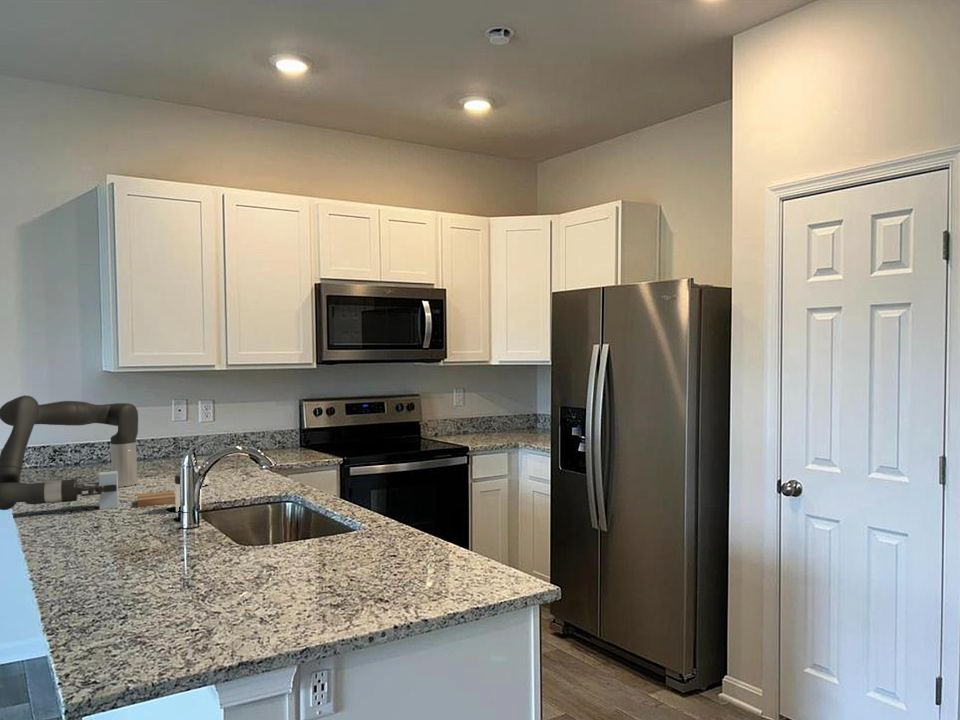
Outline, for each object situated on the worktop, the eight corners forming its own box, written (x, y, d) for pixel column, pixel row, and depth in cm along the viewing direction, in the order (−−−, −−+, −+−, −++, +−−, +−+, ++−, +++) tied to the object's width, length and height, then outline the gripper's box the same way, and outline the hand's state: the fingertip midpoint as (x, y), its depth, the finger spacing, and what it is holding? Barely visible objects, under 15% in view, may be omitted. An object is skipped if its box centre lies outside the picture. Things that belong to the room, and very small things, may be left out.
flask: (214, 484, 288) (213, 459, 288) (205, 487, 281) (204, 462, 281) (196, 484, 289) (196, 459, 289) (187, 487, 282) (187, 462, 282)
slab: (138, 502, 258) (138, 494, 258) (174, 498, 263) (174, 490, 263) (137, 509, 247) (137, 500, 247) (175, 505, 252) (175, 496, 252)
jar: (201, 511, 239) (200, 475, 238) (175, 513, 236) (173, 477, 236) (202, 505, 247) (201, 471, 247) (176, 508, 244) (175, 473, 244)
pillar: (101, 506, 250) (99, 472, 250) (118, 504, 252) (117, 470, 252) (99, 509, 245) (98, 474, 245) (117, 507, 247) (116, 473, 247)
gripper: (58, 483, 236) (115, 478, 243) (63, 477, 249) (117, 472, 256) (58, 506, 236) (116, 500, 243) (64, 498, 249) (118, 493, 256)
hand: (116, 486), depth 250 cm, fingers closed on pillar, 5 cm apart
